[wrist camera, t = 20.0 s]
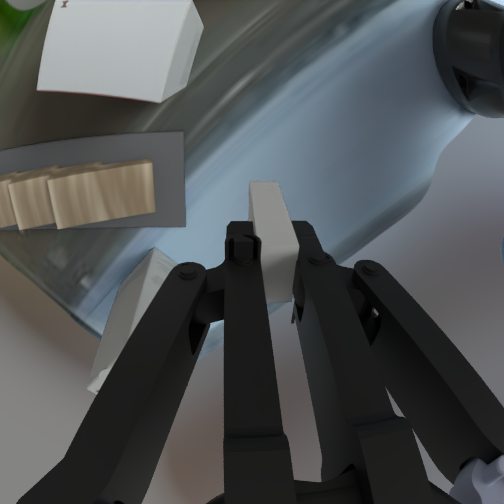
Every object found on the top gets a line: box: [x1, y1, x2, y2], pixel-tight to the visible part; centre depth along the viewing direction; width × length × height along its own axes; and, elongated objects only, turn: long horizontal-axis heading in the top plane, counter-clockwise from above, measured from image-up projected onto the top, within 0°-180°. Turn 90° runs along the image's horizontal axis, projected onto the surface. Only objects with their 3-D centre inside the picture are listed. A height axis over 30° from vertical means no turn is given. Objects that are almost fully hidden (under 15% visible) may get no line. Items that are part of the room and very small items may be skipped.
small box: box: [37, 0, 204, 103], centre depth 17 cm, size 8×6×13 cm
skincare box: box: [87, 247, 188, 394], centre depth 30 cm, size 8×7×16 cm
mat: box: [0, 131, 186, 231], centre depth 29 cm, size 25×10×1 cm, turn 86°
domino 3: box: [48, 158, 156, 229], centre depth 27 cm, size 2×5×10 cm
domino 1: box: [0, 164, 60, 228], centre depth 26 cm, size 2×5×10 cm
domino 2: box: [8, 161, 103, 230], centre depth 26 cm, size 2×5×10 cm
